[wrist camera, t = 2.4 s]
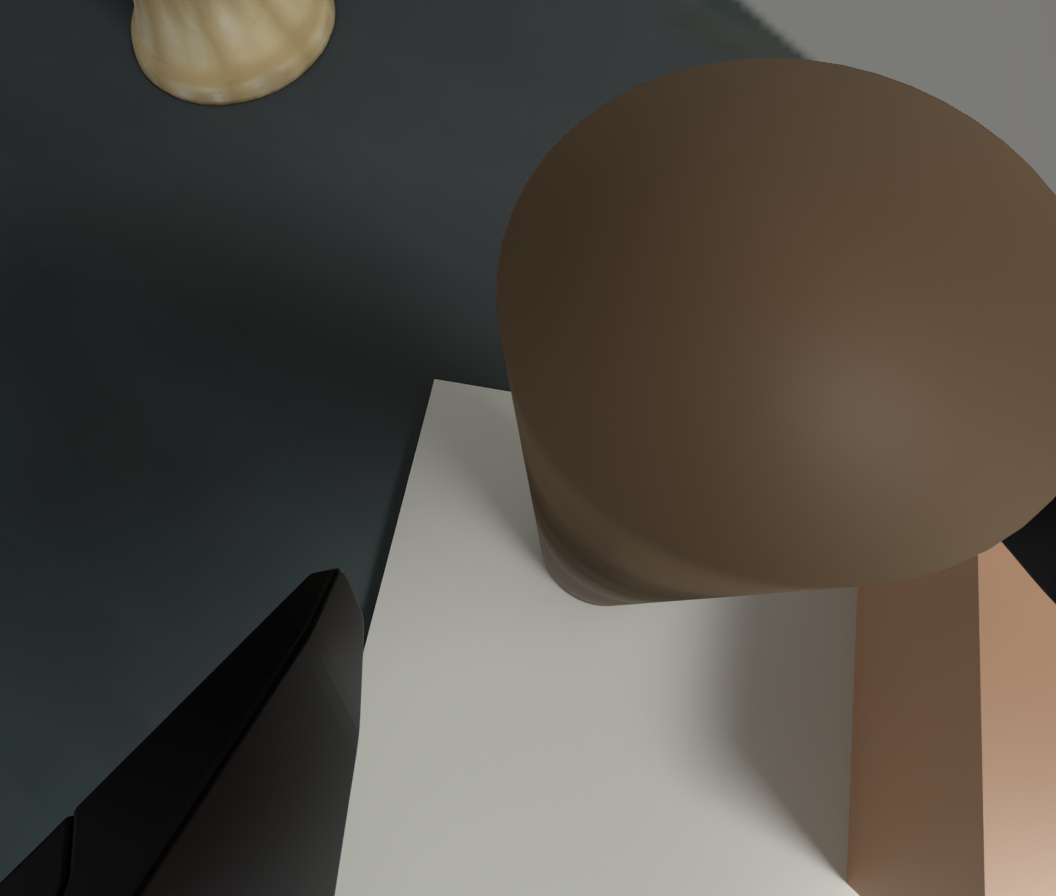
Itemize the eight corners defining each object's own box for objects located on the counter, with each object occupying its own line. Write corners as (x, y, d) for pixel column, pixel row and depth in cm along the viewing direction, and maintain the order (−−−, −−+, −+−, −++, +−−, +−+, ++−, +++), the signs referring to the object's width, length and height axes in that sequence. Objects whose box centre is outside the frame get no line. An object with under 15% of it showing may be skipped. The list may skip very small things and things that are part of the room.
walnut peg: (658, 618, 15) (1141, 651, 3) (529, 592, 16) (435, 516, 3) (674, 491, 16) (1086, 88, 4) (553, 469, 16) (554, 34, 4)
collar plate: (1354, 1158, 12) (1890, 1525, 7) (309, 883, 14) (185, 1023, 9) (1256, 523, 16) (1565, 486, 11) (437, 385, 18) (395, 303, 13)
